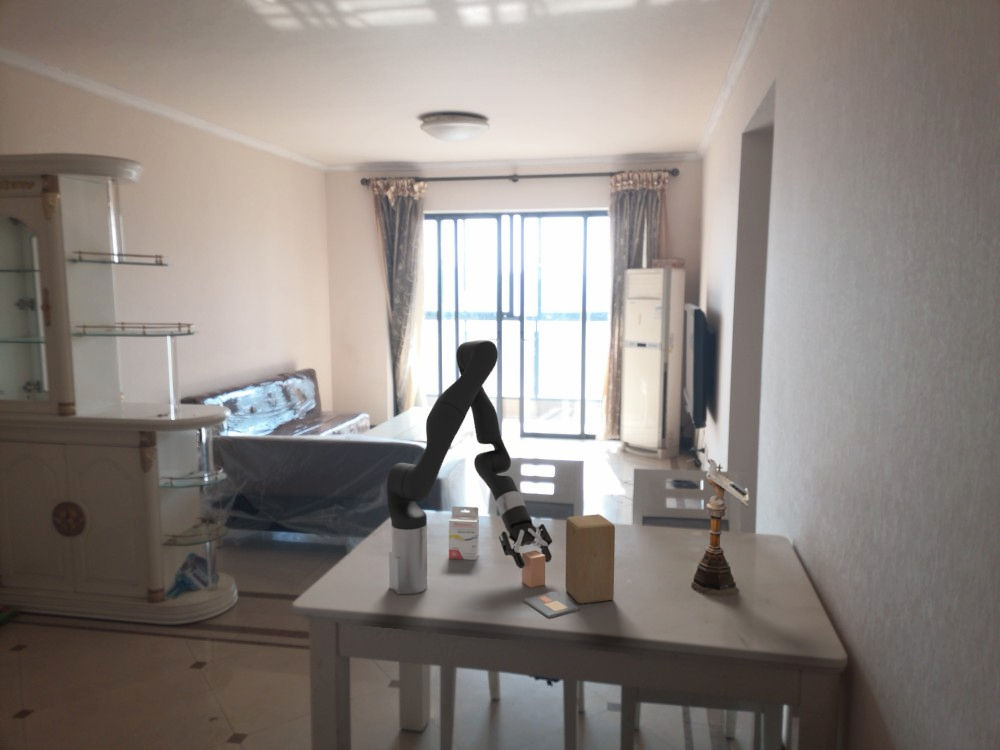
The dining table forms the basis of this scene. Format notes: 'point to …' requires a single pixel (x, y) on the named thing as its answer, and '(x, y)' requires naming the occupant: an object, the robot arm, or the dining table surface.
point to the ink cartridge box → (464, 533)
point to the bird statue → (717, 538)
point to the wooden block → (590, 558)
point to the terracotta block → (533, 568)
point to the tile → (551, 604)
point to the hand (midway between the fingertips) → (535, 564)
